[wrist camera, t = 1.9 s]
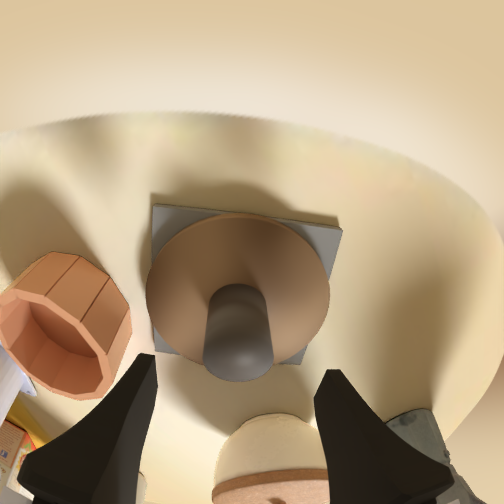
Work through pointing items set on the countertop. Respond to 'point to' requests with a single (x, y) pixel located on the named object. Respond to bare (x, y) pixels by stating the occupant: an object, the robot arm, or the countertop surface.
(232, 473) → the lidded jar
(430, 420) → the moka pot
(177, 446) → the countertop surface
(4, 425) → the cracker box
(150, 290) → the lid
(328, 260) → the mat
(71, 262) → the planter
